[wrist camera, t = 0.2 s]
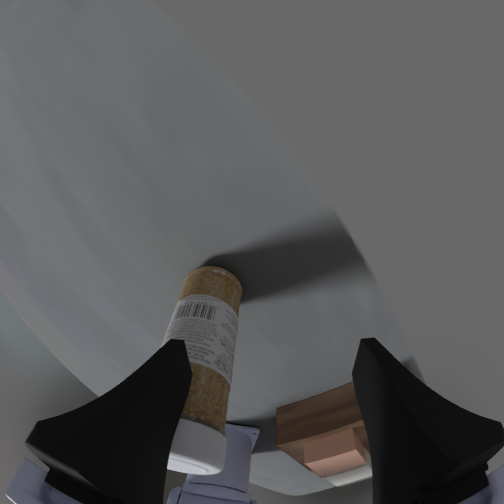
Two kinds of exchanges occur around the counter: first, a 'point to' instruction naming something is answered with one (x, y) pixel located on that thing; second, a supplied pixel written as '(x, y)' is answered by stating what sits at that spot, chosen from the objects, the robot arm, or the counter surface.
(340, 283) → the counter surface
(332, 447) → the terracotta tile
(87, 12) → the counter surface
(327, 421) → the walnut board
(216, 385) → the sprinkles bottle
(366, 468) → the cream tile
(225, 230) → the counter surface
